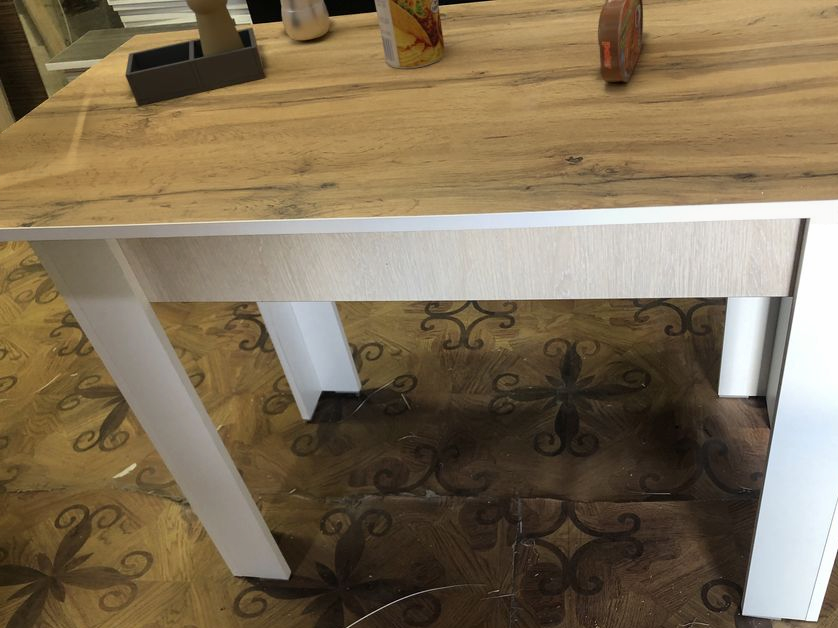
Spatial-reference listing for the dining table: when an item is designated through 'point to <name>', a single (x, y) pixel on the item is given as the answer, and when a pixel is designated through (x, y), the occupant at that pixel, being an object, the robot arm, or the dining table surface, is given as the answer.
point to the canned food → (410, 32)
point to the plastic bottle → (305, 18)
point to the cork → (215, 26)
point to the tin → (620, 38)
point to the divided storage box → (191, 69)
